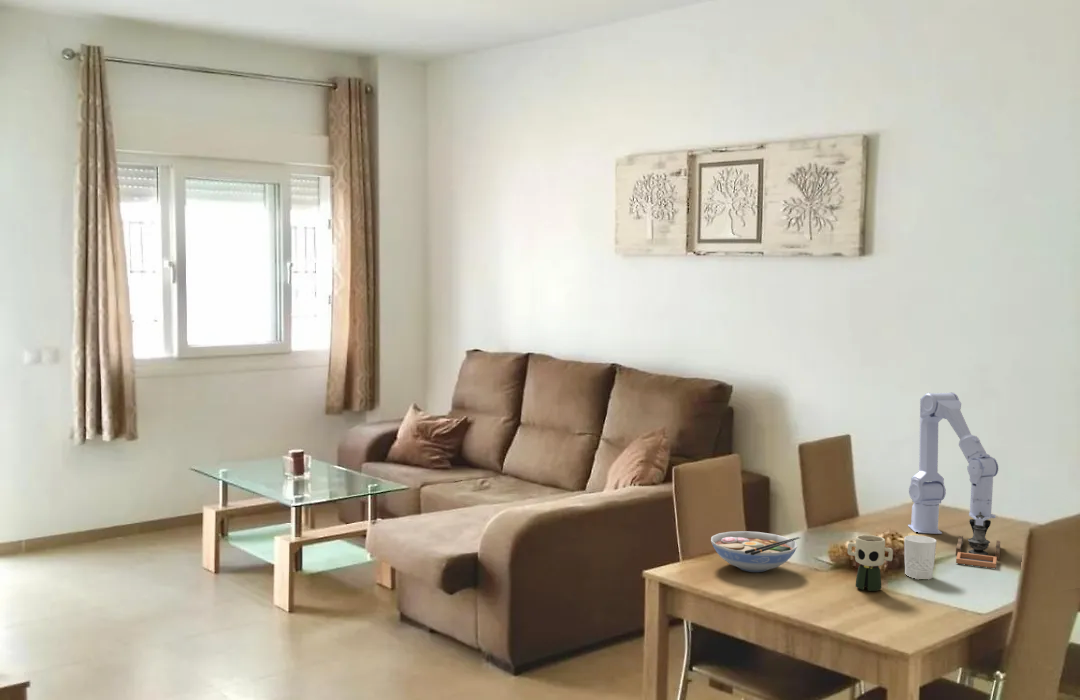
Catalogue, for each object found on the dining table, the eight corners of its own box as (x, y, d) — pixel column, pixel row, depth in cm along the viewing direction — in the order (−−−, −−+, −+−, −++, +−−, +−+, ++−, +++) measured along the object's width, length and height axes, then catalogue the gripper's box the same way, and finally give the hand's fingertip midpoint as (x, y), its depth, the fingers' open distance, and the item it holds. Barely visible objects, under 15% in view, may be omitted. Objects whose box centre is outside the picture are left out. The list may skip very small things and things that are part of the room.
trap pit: (957, 557, 288) (957, 551, 288) (996, 562, 284) (996, 556, 284) (955, 564, 281) (956, 558, 281) (995, 569, 276) (995, 563, 276)
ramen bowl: (743, 551, 289) (744, 523, 288) (815, 569, 273) (816, 539, 272) (689, 568, 271) (690, 537, 271) (763, 587, 255) (764, 555, 255)
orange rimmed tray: (959, 542, 304) (959, 536, 304) (1000, 547, 300) (1000, 540, 299) (955, 555, 290) (956, 548, 290) (998, 560, 285) (999, 553, 285)
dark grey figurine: (993, 555, 290) (995, 514, 289) (972, 555, 290) (974, 514, 289) (984, 550, 296) (986, 509, 295) (963, 550, 296) (965, 509, 295)
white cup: (897, 576, 268) (899, 538, 267) (910, 570, 274) (911, 533, 273) (927, 582, 262) (929, 544, 262) (939, 576, 268) (941, 539, 268)
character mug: (842, 589, 255) (845, 538, 254) (849, 582, 261) (851, 532, 260) (888, 596, 250) (890, 544, 249) (893, 589, 256) (895, 538, 255)
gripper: (995, 505, 287) (993, 552, 288) (996, 495, 300) (994, 541, 301) (968, 502, 290) (966, 549, 291) (970, 493, 303) (968, 538, 304)
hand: (978, 545), depth 296 cm, fingers closed
